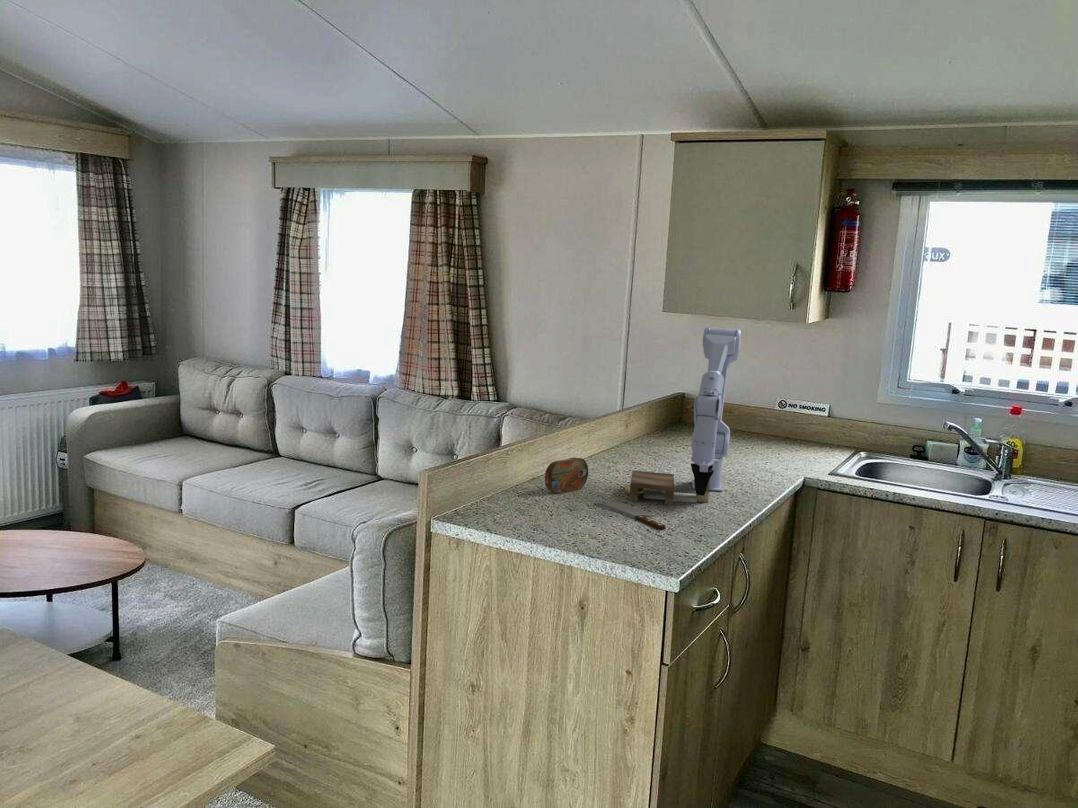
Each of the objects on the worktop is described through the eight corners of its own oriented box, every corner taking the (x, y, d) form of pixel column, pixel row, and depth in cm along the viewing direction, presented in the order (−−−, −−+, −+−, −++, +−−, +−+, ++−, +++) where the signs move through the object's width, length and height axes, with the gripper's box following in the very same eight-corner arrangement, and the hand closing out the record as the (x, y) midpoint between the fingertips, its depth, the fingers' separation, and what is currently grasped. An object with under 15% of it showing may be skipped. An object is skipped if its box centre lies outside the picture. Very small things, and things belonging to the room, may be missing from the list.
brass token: (625, 491, 237) (625, 484, 237) (644, 493, 236) (644, 485, 236) (624, 496, 232) (624, 488, 232) (643, 497, 232) (644, 490, 231)
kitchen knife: (686, 525, 208) (653, 527, 202) (686, 529, 208) (652, 531, 203) (624, 499, 228) (592, 500, 223) (624, 503, 228) (592, 504, 223)
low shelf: (631, 487, 241) (632, 470, 241) (672, 491, 240) (673, 474, 239) (629, 500, 228) (630, 482, 227) (672, 504, 226) (674, 486, 226)
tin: (550, 496, 228) (552, 463, 226) (541, 493, 230) (543, 461, 229) (588, 487, 239) (590, 456, 237) (579, 485, 241) (581, 454, 240)
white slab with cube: (644, 492, 237) (645, 470, 236) (707, 498, 235) (709, 475, 234) (643, 498, 231) (645, 475, 230) (708, 504, 229) (710, 481, 228)
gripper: (722, 448, 222) (717, 501, 224) (718, 437, 236) (713, 487, 239) (693, 446, 223) (688, 499, 225) (691, 435, 237) (687, 485, 239)
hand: (699, 493), depth 232 cm, fingers closed on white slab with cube, 3 cm apart
